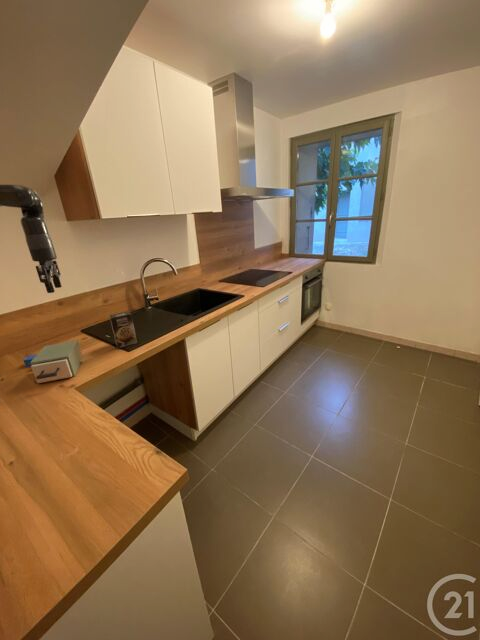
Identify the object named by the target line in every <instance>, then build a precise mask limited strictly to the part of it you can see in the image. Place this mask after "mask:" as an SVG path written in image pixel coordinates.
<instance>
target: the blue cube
mask: <svg viewBox="0 0 480 640" xmlns="http://www.w3.org/2000/svg"><path fill="white" fill-rule="evenodd" d="M37 354H38V353H37ZM37 354H36V353H35V354H30V355H27V356H26V357H25V359H23V363H24V365H25V368H31V364H30V362H31V361H32V360H33V359H34V358H35V356H36V355H37Z"/></svg>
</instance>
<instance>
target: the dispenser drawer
mask: <svg viewBox="0 0 480 640" xmlns="http://www.w3.org/2000/svg"><path fill="white" fill-rule="evenodd" d="M30 368H31V371H32V372H33V375H34V378H35V381H36V383H37V384H41V383H47V382H52V381H56V380H62V379H67V378H72V373H71V370H70V367H69V364H68V361H67V358H65V359H59V360H53V361H48V362H42V363H36V365H32V366H31V367H30Z"/></svg>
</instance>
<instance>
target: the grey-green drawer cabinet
mask: <svg viewBox="0 0 480 640" xmlns="http://www.w3.org/2000/svg"><path fill="white" fill-rule="evenodd" d="M35 355H36V354H35ZM65 358H67V361H68V364H69V367H70V370H71V373H72V377H76V375H77V373H78V371H79V369H80V367H81V365H82V363H83V361H82V360H83V358H84V355H83V353H82V350H81V346H80V343H79V340H74V341H67V342H62V343H55V344H49V345H44V346H43V347H42V348H41V350H40V351H39V352H38V353H37V355H36V356H35V358H34V359H33V360H32V361H31V362H30V364H31V366H32V365H36V363H42V362H48V361H53V360H59V359H65ZM72 377H71V378H72Z"/></svg>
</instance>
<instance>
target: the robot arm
mask: <svg viewBox="0 0 480 640" xmlns="http://www.w3.org/2000/svg"><path fill="white" fill-rule="evenodd" d="M43 206H44V205H43V201H42V198H41V196H40V195H39V193H38V192H37V191H36V190H35V189H33V188H31V187H28V186H25V185H20V184H3V183H2V184H0V207H8V208H16V209H17V208H18V209H20V210H21V215H22V217H21V218H20V225H21V227H22V230H23V233H24V237H25V243H26V245H27V248H28V251H29V254H30V257H31V259H32V261H33V262H37V263H38V264H39V265H35V270H36V272H37V277H38V280H39V282H40V283H41V284H44V287H45V290H46V293H47V294H53V293H55V292H56V291H55V288H56V289H59V288H62V286H63V285H62V282H61V279H60V277H61V270H60V268H59V266H58V262H57V260H56V259H58V257H57V253H56V250H55V248H54V244H53V240H52V238H51V235H50V233H49V230H48V227H47V224H46V221H45V212H44V207H43Z"/></svg>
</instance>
